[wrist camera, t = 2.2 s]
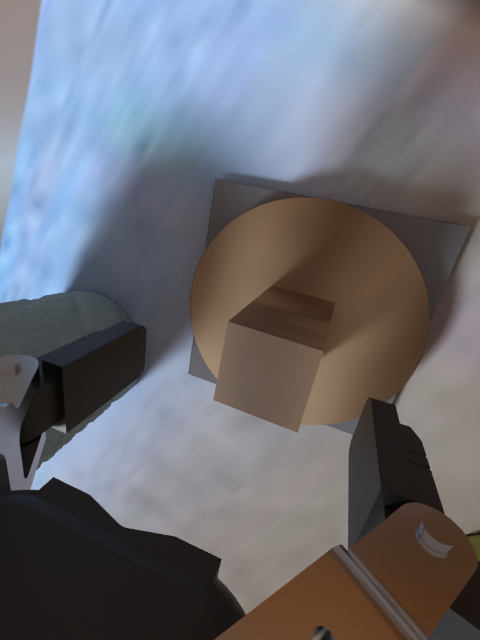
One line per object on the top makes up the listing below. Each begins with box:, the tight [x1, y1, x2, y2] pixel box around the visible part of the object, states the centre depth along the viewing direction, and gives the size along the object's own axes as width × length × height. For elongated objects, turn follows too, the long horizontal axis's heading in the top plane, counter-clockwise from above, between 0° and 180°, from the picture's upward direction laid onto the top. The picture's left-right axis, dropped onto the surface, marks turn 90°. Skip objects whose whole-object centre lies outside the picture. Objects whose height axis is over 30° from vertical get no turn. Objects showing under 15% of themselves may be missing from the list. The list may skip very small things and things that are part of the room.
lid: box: [190, 197, 430, 432], centre depth 14 cm, size 12×12×7 cm
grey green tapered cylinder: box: [0, 290, 139, 470], centre depth 18 cm, size 10×10×12 cm
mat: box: [188, 179, 471, 434], centre depth 17 cm, size 12×12×1 cm
